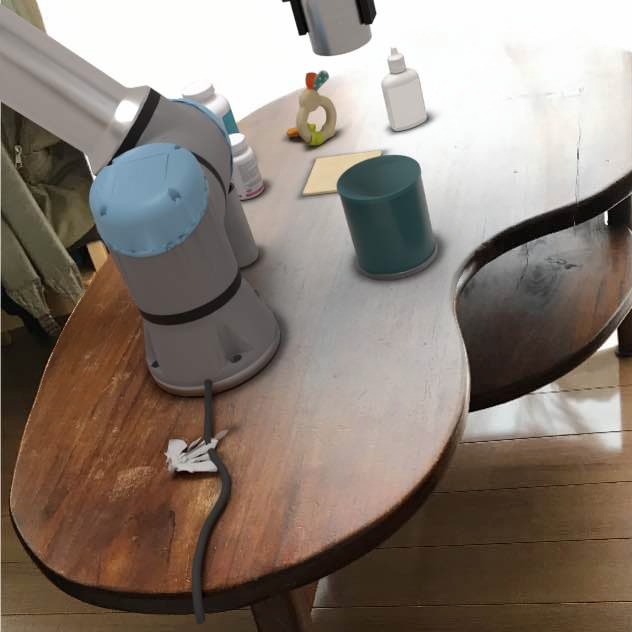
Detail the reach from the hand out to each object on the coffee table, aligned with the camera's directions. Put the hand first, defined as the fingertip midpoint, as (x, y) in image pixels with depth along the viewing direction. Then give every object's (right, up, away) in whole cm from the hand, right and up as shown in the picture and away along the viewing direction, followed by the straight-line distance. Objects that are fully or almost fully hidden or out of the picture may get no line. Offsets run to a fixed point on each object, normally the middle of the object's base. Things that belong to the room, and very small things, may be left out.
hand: (337, 24), depth 90 cm
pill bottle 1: (-18, -5, +45) cm, 49 cm away
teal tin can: (+7, -22, +16) cm, 28 cm away
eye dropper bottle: (+10, +1, +43) cm, 44 cm away
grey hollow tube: (-13, -22, +24) cm, 35 cm away
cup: (0, -1, +1) cm, 2 cm away
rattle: (-5, 0, +47) cm, 47 cm away
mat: (0, -8, +35) cm, 36 cm away
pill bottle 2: (-14, -10, +38) cm, 41 cm away
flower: (-13, -44, -3) cm, 46 cm away
